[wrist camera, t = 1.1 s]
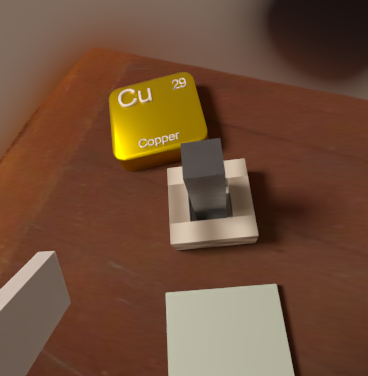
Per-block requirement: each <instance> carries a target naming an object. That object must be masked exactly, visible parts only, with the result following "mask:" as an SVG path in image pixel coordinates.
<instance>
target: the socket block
mask: <svg viewBox="0 0 368 376" xmlns="http://www.w3.org/2000/svg"><path fill="white" fill-rule="evenodd" d="M224 168H225V179H226V218H220V219H211V220H201V221H198V220H197V217H196V215H195V212H194V209H193V206H192V203H191V200H190V198H189V195H188V192H187V189H186V186H185V183H184V181H183V173H182V167H175V168H167V174H168V196H169V218H170V240H171V245H172V246H173V247H174V249H175V250H186V249H197V248H207V247H217V246H228V245H238V244H248V243H256V241H257V238H258V236H259V235H258V229H257V224H256V218H255V213H254V207H253V202H252V196H251V191H250V186H249V180H248V175H247V169H246V164H245V158H243V159H236V160H228V161H224Z"/></svg>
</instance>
